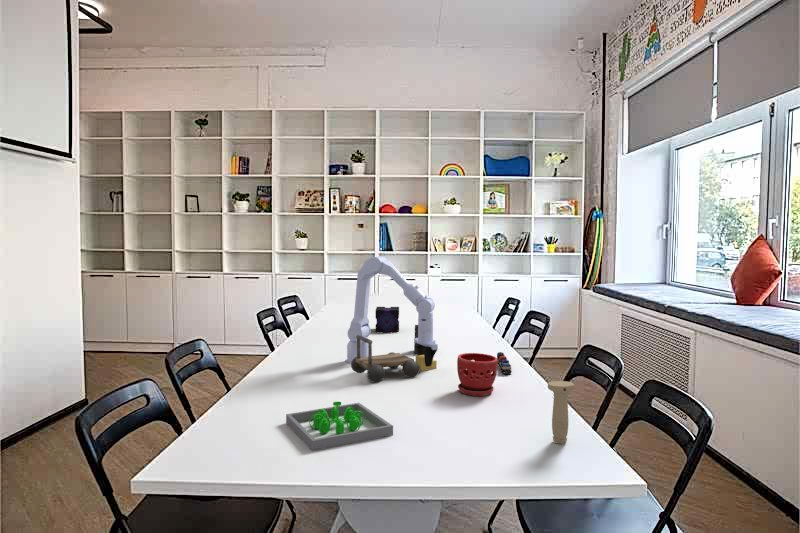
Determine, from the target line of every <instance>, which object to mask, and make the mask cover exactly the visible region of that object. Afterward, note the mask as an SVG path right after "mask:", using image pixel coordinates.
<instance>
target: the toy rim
mask: <svg viewBox="0 0 800 533" xmlns="http://www.w3.org/2000/svg"><path fill="white" fill-rule="evenodd" d="M348 407H352V408H353V409H354V411H360V412H362V413H363V414H364V416H363V414H362V413H360V412H359V414H360V416H361V417H363V418H364V417H365V419H366V420H367V421H368V420H369V421H368V422H370V423H371V422H372V423H371V424H372V425H374V424H375V425H376V426H375V425H374V426H375V427H371V428H366V429H361V430H360V429H359V430H358V431H356V430H353V431H350V432H345V433H342V434H334V435H327V436H324V437H318V438H315V437H314V436H313V435H312V434H311V433H310V432H309V431H307V429H306V428H305V427H304V426H303V425H302V424H301V423H303V422H308V421H310V418H311V417H312V416H313V415H315V414H316V411H317V410H319V409H320V408H319V409H318V408H317V409H312V410H311V409H310V410H305V411H298V412H292V413H286V414H285V417H286V418H285V423H286V425H287V426H288V427H289V426H290V427H289V428H290V429H291V430H292V431H293V432H294V433H295V434H296V436H298V437H299V438H300V440H302V442H303V443H305V445H306V446H307V447H308V448H309V449H310V450H311V451H312V452H315V451H320V450H324V449H330V448H334V447H340V446H346V445H350V443H351V444H353V443H354V444H355V442H356V443H360V442H359V441H361V442H366V441H370V439H371V440H376V439H380V438H379V437H381V438H384V437H383V436H386V437H390V436H389V435H392V436H394V425H392V424H391V423H390V422H388V421H387V420H385V419H384V418H382V417H381V416H379V415H378V414H376V413H375V412H373V411H372V410H370V409H369V408H367V407H366V406H364V405H363V404H362V403H360V402H354V403H349V404H343V405H342V404H341V405H340V406H338V411H339V416H344V412H345V410H346V409H347V408H348ZM321 409H324V410H325V411H326V412H327V414H328V418H331V411H332V409H333V406H329V407H322V408H321ZM351 410H352V409H351ZM319 412H320V410H319V411H318V412H317V414H318V413H319ZM314 417H315V416H314ZM314 417H312V419H311V421H313V420H314ZM326 418H327V416H326ZM375 438H376V439H375ZM365 440H366V441H365ZM345 444H346V445H345Z"/></svg>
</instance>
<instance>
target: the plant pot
mask: <svg viewBox="0 0 800 533" xmlns="http://www.w3.org/2000/svg"><path fill="white" fill-rule="evenodd" d="M456 364H457V365H456V366H457V367H456V369H457V376H458V379H459V384H457V388H458V390H459V391H460V392H461V393H462V394H465V395H468V396H473V397H480V396H481V397H482V396H488V395H490V394H491V393H493V391H494V388H495V387H494V386H493V384H494V382H495V380H496V377H497V372H498V360H497V356H493V355H490V354H487V353H479V352H478V353H477V352H467V353H466V352H465V353H461V354H458V355H457V359H456Z"/></svg>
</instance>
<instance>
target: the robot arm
mask: <svg viewBox="0 0 800 533" xmlns="http://www.w3.org/2000/svg"><path fill="white" fill-rule="evenodd" d="M378 274H380V275H384V276H389V277H390V278H391V279H392V280H393V282H395V283H396V284H397V285H398V287H400V288H401V289H402V290H403V295H404V296H405V297H406V299H407V300H409V302H411V304H412V305H413V306H414V307H415V310H416V312H417V313H418V314H417V315H418V317H417V318H418V321H417V323H418V324H417V325H418V338H415V337H414V338H413V344H414V343H417V344H418V345H415V346H413V349H414V348H415V350H416V352H417V354H416V355H424V357H425V365H426V366H427V367H428V366H431V365H432V361H433V360H434V357H435V355H436V352H437V351H438V350H439V349H438V348H439V347H438V344H437V343H436V340H435V339H434V309H435V307H436V306H435V302H434V300H433V299H432V298H431V297H428V295H427V294H425V293H424V292H423V291H422V290H421V289H420V286H419V285H418V284H417V285H416V284H415V283H410V282H409V281H408V280H407V279H406V277H404V276H403V275H402V273H401V272H400V270H398V269H397V268H396V267H395V265H394V264H393V263H392V261H390V260H389V259H388V258H387V257H386V256H384V255H378V256H371V257H369V258H367V259H366V260H364V262H363V265H362V266H361V268H360V269H359V270H358V272H357V277H356V278H357V279H356V291H355V298H354V299H355V303H354V313H353V314H354V315H353V318H352V320H351V322H350V326H349V328H348V330H347V337H348V339H349V341H348V343H347V345H346V347H347V348H346V349H347V350H346V354H347V355H346V357H347V358H346V359H345V360H344V361H345V362H347V363H348V364H350V365H351V362H352V360H353V359H354V358H355V357H357V338H356V336H357V335H360V336H362V337H365V338H367V339H369V335H370V334H371V327H370V324H369V323H370V320H369V318H368V312H369V302H370V301H369V300H370V299H369V298H370V290H371V279H372V278H373V277H375V276H376V275H378ZM360 356H361V357H368V343H367V342H364V341H362V340H360Z"/></svg>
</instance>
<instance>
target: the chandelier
mask: <svg viewBox="0 0 800 533" xmlns="http://www.w3.org/2000/svg"><path fill="white" fill-rule="evenodd" d="M332 405H333V406H332V407H333V409H332V411H331V417H328V414H327V412H326V411H325V410H324V409H322V408H319V410H320V412H319V413H318V414H317V412H318V411H319V410H317V411H316V414H315V415H313V416H312V417H314V416H315V417H314V420H311V419H312V417H311V418H310V420H309V426H310V428H312V429H313V430H316V429H318V432H319V434H321V435H324V434H327V433H329V431H330V429H331V424H334V423H335V434H336V435H338V434H344V432H345V424H344V423H346V428H347V429H348V430H349V431H351V430H352V431H360V428H361V426H362V425H363V424H364V422H365V419H366V418H365V417H363V416H364V414H363V413H362V412H360V411H354V409H353V408H352V407H348V408H347V409H346V410H345V412H344V415H343V416H342V417H339V416H340V415H339V411H338V406H341V405H342V402H341V401H334V402H332ZM351 409H352V410H351ZM359 412H360V413H362V414H363V416H361V415H360V414H359ZM326 416H327V418H326ZM362 417H363V420H362V419H361V418H362ZM361 420H362V422H361ZM311 421H313V423H312V424H313V426H312V425H311Z"/></svg>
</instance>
